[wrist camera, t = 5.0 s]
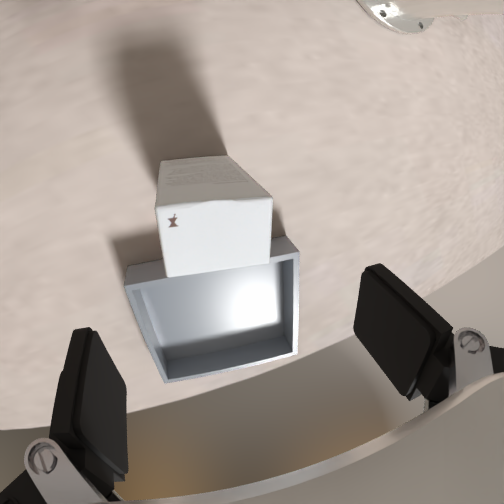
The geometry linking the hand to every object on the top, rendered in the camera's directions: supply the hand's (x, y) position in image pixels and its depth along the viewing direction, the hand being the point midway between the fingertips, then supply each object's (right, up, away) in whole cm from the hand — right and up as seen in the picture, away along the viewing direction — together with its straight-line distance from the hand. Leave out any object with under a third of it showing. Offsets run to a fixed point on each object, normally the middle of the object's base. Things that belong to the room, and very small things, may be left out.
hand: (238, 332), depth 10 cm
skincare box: (-4, +9, +16) cm, 19 cm away
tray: (-3, -3, +23) cm, 23 cm away
